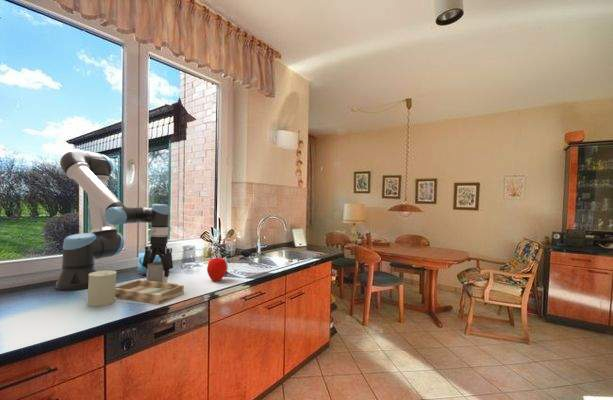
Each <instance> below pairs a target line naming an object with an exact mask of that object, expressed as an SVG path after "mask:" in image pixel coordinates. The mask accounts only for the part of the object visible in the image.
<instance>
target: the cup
mask: <svg viewBox="0 0 613 400" xmlns="http://www.w3.org/2000/svg"><path fill="white" fill-rule="evenodd" d="M166 268H167V267H166ZM163 270H164V268H163V264H162V262H153V263H150V264H148V270H147V275H146V276H147V280H148V281H155V282H162V272H163Z"/></svg>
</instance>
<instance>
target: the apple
mask: <svg viewBox="0 0 613 400" xmlns="http://www.w3.org/2000/svg"><path fill="white" fill-rule="evenodd" d="M227 267H228V266H227V262H226V259H224V258H222V257H213V258H211V259H210V260H209V261H208V264H207V267H206V272H207V275H208V276H209V277H208V278H209V279H210V280H211V281H213V282H216V281H220V280H222V279H223V278H224V276H225V274H226V273H227V270H228V269H227Z"/></svg>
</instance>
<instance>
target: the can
mask: <svg viewBox="0 0 613 400" xmlns="http://www.w3.org/2000/svg"><path fill="white" fill-rule="evenodd" d="M116 286H117V271H116V270H109V269H108V270H98V271H96V270H95V272H92V273H90V274H89V283H88V288H87V290H88V291H87V301H86V305H87V306H88V307H94V308H95V307H103V306H109V305H112V304H113V303H115V302H116V298H115V291H116Z"/></svg>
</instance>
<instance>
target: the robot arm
mask: <svg viewBox="0 0 613 400" xmlns="http://www.w3.org/2000/svg"><path fill="white" fill-rule="evenodd" d="M59 166H60V168H61V170H62V172H63V173H64V174H65V176H66V177H68V178H69V179H71V180H72V179H73V180H74V181H75V182H76V183H77V184H78V185H79V186H80V188H81V189H82V190H84V192H86V194H87V198H88V199H87V200H88V204H89V205H88V206H89V213H90V220H91V227H92V229H91V230H90V232H83V233H75V234H71V235H67V236H66V237H65V238H64V239H63V245H62V261H61V272H60V273H59V275H58V278H57V280H56V283H55V289H57V290H59V291H60V290H61V291H74V290H83V289H88V283H89V274H90V273H92V272H96V269H95V261H96V260H99V259H105V258H111V257H113V256H117V255H118V254H120V253H121V252H122V250H123V249H124V246H125V239H124V236H123V235H122V234H121V233H120V232H118V228H116V227H115V226H114V225H125V224H138V223H145V224H150V235H151V236H150V237H149V238H150V239H149V244H150V245H148V246H144V253H145V255H144V259H143V264H142V266H143V267H145V268H146V274H145V275H146V278H145V280H147V270H148V264H150V263H153V261H154V259H155V257H156V255H159V257H160V258H161V261H162V264H163V268H164V270H163V272H162V282H163V283H168V277H169V275H170V270H172V269H174V264H173V263H174V262H173V255H172V254H173V253H172V252H173V248H172V247H171V248H169V247H167V245H168V240H169V239H168V238H169V237H168V235H169V219H170V205H169V204H166V203H164V204H163V203H153V204H152V205H151V207H148V206H147V207H146V206H145V207H144V206H133V207H132V206H126V205H124V203H123V202H121V201H120V200H119V198H117V196H116V195H115V194H114V193H113V192H112V191H111V190H110V189H109V188H108V184H107V183H108V182H107V181H108V180H109V179H110V175H112V173H113V171H114V164H113V162H112V159H111V158H110V157H109V156H107V155H105V154H103V153H98V152H92V151H86V150H82V149H69V150H68V151H65V152H64V153H63V154H62V155H61V157H60V159H59ZM145 263H146V264H145ZM166 267H167V268H166Z"/></svg>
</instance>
